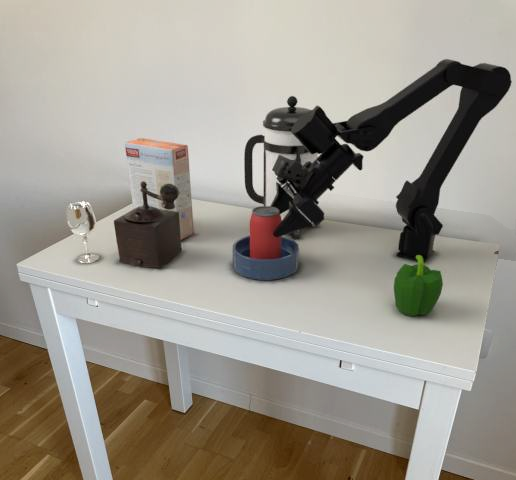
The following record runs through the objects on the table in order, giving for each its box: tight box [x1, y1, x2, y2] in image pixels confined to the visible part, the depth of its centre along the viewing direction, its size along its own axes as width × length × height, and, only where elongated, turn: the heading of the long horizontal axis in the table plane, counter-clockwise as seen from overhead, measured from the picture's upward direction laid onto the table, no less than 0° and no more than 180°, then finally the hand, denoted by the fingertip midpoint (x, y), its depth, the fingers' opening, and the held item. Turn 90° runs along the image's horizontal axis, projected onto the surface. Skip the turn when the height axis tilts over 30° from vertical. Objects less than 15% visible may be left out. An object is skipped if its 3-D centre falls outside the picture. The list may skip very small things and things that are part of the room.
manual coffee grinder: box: [113, 181, 183, 269], centre depth 113 cm, size 16×11×18 cm
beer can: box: [249, 205, 282, 259], centre depth 111 cm, size 7×7×12 cm
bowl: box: [231, 235, 300, 281], centre depth 114 cm, size 14×14×4 cm
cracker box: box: [124, 137, 195, 241], centre depth 125 cm, size 14×6×21 cm, turn 58°
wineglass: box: [66, 201, 100, 264], centre depth 115 cm, size 6×6×12 cm
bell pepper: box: [393, 255, 444, 317], centre depth 96 cm, size 8×8×10 cm
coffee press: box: [243, 95, 319, 240], centre depth 125 cm, size 17×16×30 cm
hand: (269, 227), depth 110 cm, fingers open, 9 cm apart
